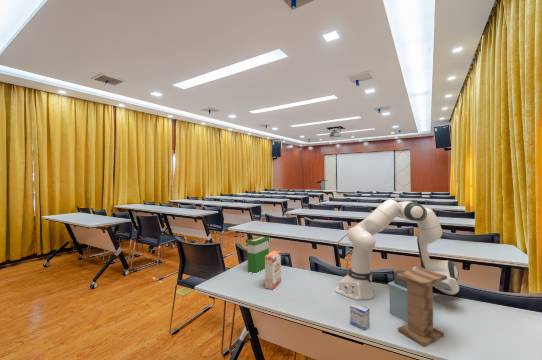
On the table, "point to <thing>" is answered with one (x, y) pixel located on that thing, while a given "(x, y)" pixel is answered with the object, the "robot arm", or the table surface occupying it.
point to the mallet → (398, 280)
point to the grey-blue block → (398, 301)
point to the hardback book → (257, 253)
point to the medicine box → (359, 316)
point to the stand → (420, 305)
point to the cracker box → (272, 269)
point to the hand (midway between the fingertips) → (424, 271)
